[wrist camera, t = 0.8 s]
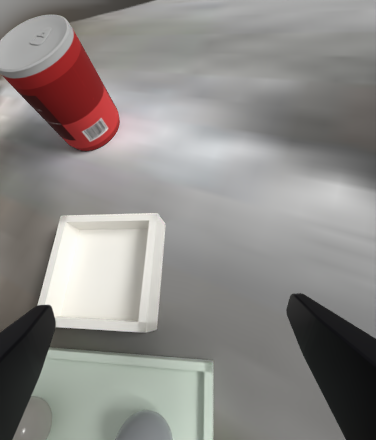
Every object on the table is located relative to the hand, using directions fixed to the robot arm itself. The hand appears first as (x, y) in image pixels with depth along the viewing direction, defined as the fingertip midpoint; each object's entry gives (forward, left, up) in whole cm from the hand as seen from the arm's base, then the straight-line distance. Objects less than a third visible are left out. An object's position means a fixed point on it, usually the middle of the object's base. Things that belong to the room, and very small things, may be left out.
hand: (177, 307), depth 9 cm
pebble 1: (-9, +13, -12) cm, 20 cm away
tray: (-9, +8, -13) cm, 18 cm away
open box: (+3, +9, -13) cm, 16 cm away
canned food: (+22, +15, -13) cm, 30 cm away
